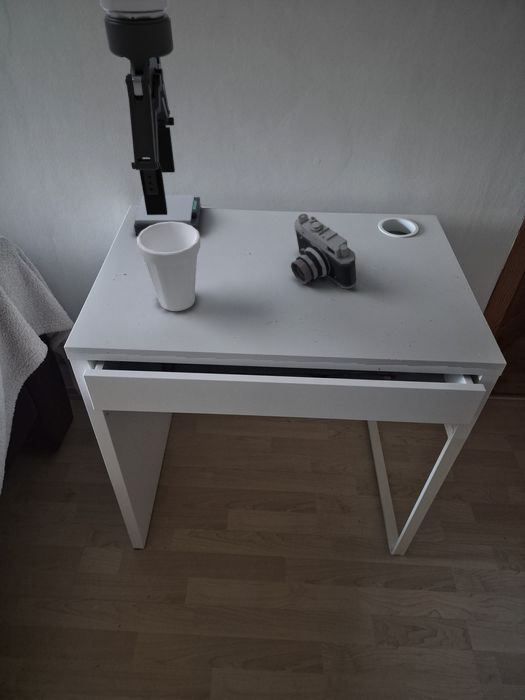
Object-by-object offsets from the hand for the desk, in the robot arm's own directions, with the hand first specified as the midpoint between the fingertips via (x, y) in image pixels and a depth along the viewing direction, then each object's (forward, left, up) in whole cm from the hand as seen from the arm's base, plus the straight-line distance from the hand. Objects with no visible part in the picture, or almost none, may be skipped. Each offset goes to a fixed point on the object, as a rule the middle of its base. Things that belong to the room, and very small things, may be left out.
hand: (162, 191), depth 66 cm
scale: (+11, +26, -20) cm, 35 cm away
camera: (+26, -7, -21) cm, 34 cm away
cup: (0, -1, -21) cm, 21 cm away
